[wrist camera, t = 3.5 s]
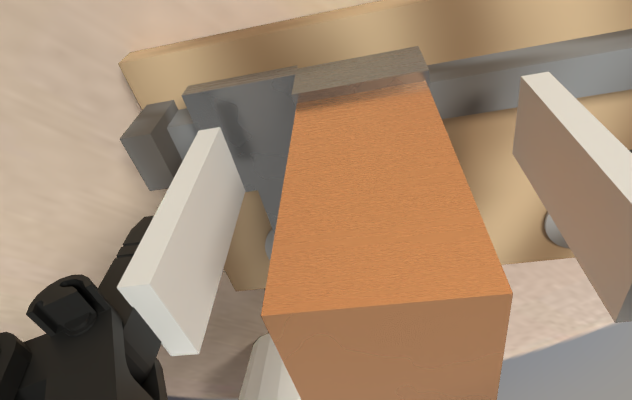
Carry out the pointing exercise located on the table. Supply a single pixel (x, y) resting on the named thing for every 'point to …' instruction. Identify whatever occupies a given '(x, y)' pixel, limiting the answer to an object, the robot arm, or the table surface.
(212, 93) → the fixed leg
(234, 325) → the table surface
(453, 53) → the bolt plate
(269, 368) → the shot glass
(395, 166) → the block
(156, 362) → the robot arm
